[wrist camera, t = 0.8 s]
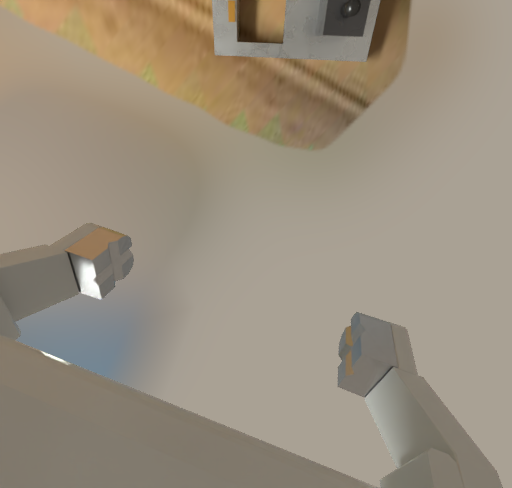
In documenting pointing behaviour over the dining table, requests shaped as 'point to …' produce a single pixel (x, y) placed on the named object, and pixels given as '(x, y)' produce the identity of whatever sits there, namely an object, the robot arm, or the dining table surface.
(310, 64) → the dining table surface
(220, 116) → the dining table surface
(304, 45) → the pillar on holed base
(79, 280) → the robot arm
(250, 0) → the dining table surface
